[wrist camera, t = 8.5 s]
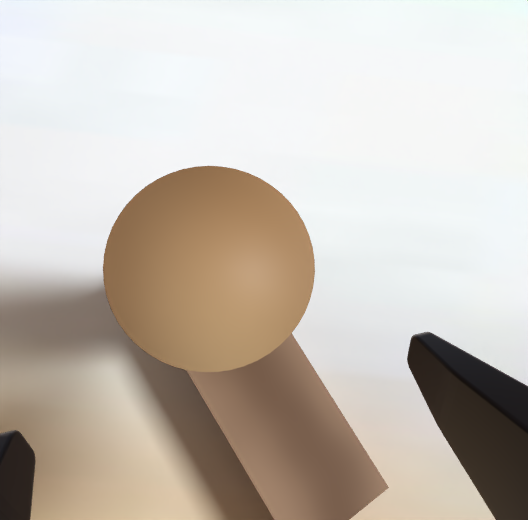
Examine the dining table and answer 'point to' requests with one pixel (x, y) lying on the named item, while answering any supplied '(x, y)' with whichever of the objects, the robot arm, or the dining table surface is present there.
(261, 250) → the oak rod
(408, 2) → the dining table surface
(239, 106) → the dining table surface
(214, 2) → the dining table surface
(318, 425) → the block
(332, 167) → the dining table surface
